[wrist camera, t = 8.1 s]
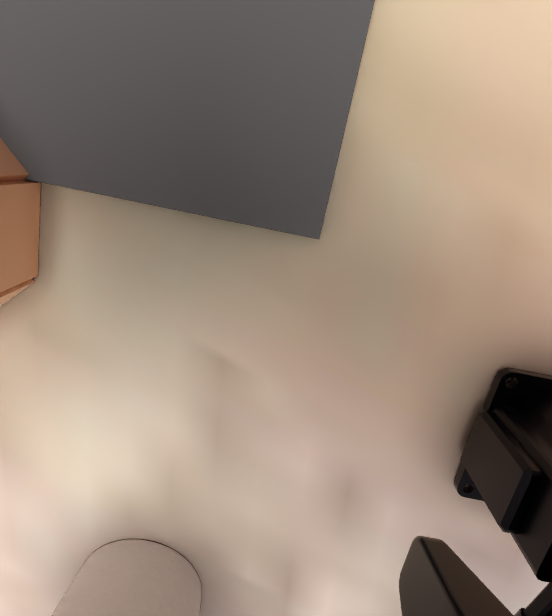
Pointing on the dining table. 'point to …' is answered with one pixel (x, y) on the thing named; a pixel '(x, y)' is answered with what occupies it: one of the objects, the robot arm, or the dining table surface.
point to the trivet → (185, 101)
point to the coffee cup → (133, 583)
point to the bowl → (17, 226)
